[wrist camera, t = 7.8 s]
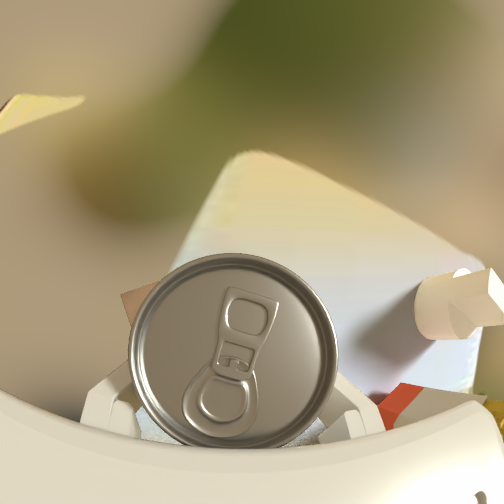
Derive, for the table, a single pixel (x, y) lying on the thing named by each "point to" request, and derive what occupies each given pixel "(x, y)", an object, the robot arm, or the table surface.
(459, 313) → the base with upright slab
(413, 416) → the french fries container
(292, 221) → the table surface
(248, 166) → the table surface
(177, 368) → the can
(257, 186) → the table surface
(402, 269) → the table surface
